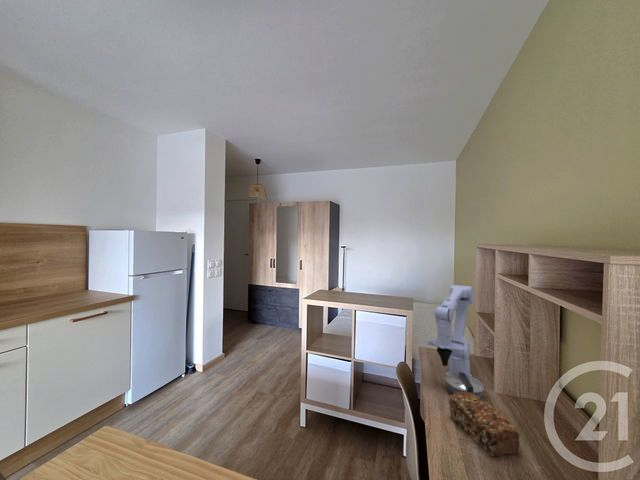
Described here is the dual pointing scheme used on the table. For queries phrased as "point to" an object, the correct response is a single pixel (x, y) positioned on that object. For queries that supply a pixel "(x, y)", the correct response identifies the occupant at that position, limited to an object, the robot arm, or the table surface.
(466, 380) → the lid
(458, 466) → the table surface
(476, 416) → the bread
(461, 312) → the robot arm
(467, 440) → the table surface
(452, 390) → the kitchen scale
